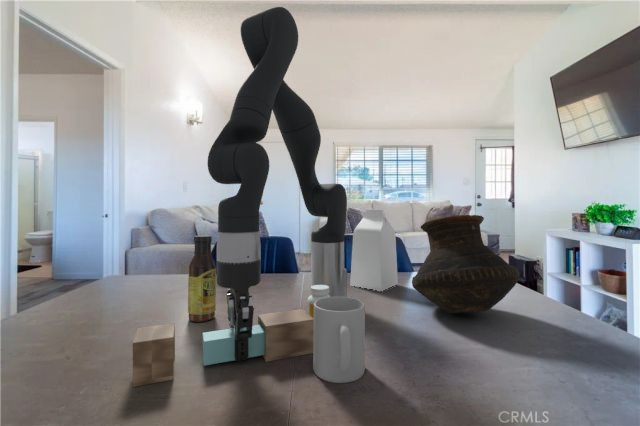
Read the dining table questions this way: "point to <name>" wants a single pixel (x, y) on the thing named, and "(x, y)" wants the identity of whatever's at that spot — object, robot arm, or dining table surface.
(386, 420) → the dining table surface
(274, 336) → the wooden block
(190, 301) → the sauce bottle
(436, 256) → the ceramic pot
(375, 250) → the milk
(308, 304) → the supplement bottle
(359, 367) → the mug
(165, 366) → the socket
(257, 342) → the long turquoise beam
